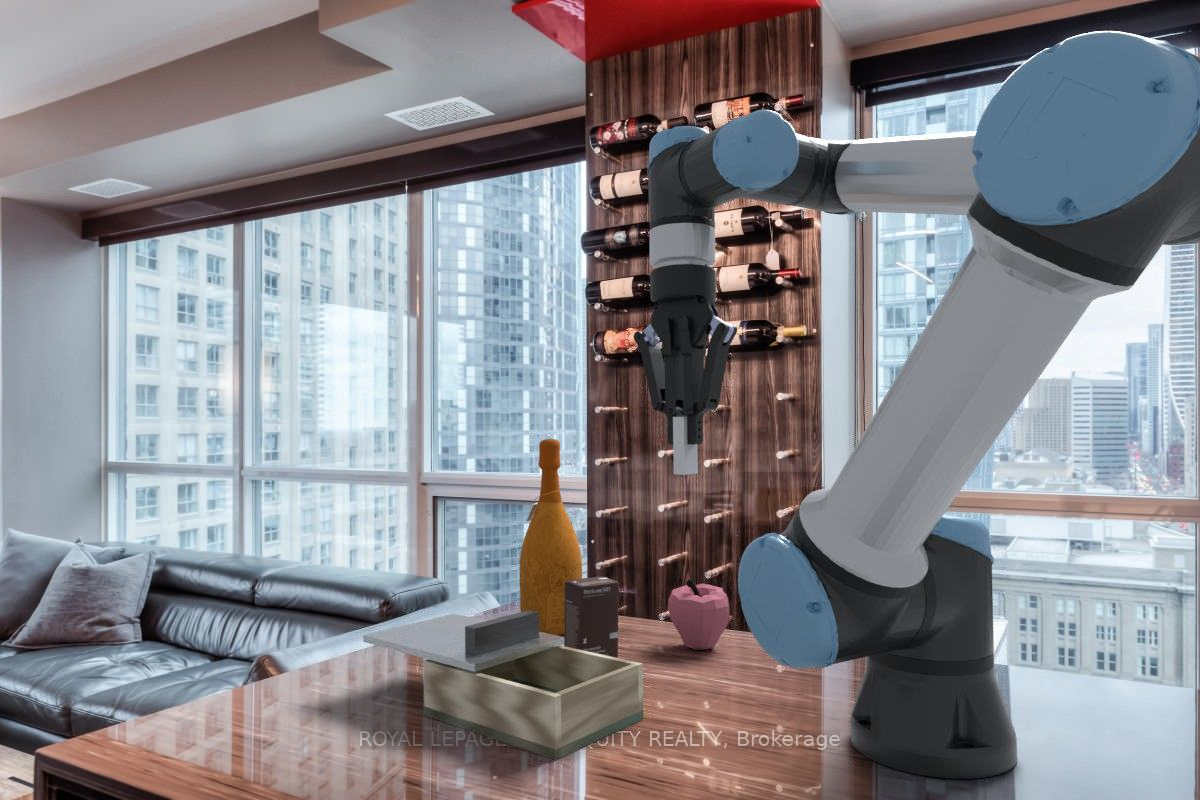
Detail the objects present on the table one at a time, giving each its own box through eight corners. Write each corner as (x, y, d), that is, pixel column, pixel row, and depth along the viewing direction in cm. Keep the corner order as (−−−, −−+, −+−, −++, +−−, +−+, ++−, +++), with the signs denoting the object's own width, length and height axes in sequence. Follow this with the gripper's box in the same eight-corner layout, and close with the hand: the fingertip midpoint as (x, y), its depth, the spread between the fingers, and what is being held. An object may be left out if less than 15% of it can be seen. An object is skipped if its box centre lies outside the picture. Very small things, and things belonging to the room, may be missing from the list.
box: (581, 682, 103) (580, 585, 103) (563, 674, 106) (562, 580, 107) (621, 674, 106) (620, 580, 106) (602, 666, 110) (600, 575, 110)
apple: (733, 657, 113) (731, 583, 114) (670, 656, 114) (669, 584, 114) (725, 639, 123) (724, 571, 123) (667, 639, 123) (666, 571, 124)
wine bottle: (557, 619, 136) (555, 438, 137) (595, 630, 129) (593, 438, 130) (507, 629, 130) (506, 439, 131) (544, 641, 122) (542, 439, 123)
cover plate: (564, 643, 97) (564, 611, 97) (474, 671, 86) (474, 635, 87) (453, 619, 110) (453, 591, 110) (363, 641, 99) (363, 610, 99)
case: (643, 719, 90) (642, 663, 90) (555, 760, 79) (555, 696, 79) (514, 683, 102) (514, 635, 103) (424, 715, 92) (423, 660, 92)
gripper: (749, 265, 93) (752, 473, 93) (655, 279, 102) (658, 470, 101) (713, 255, 88) (717, 477, 87) (617, 270, 96) (620, 474, 95)
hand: (685, 473), depth 94 cm, fingers closed
